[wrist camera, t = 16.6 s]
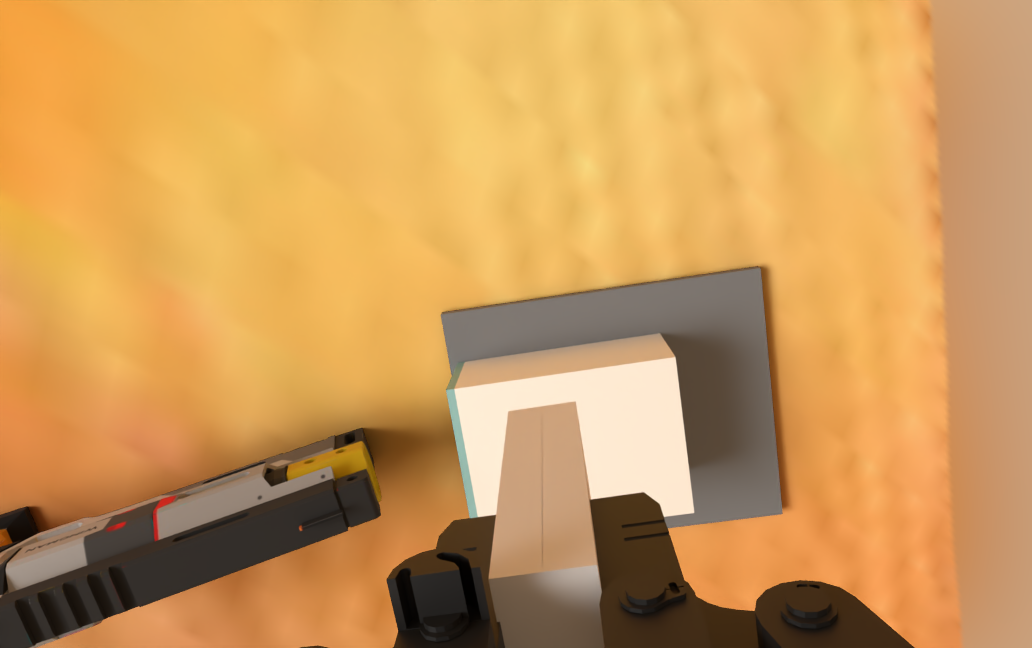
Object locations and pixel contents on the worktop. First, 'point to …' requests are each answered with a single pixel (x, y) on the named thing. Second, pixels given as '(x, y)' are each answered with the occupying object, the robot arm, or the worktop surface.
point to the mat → (700, 366)
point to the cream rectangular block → (580, 417)
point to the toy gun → (178, 538)
